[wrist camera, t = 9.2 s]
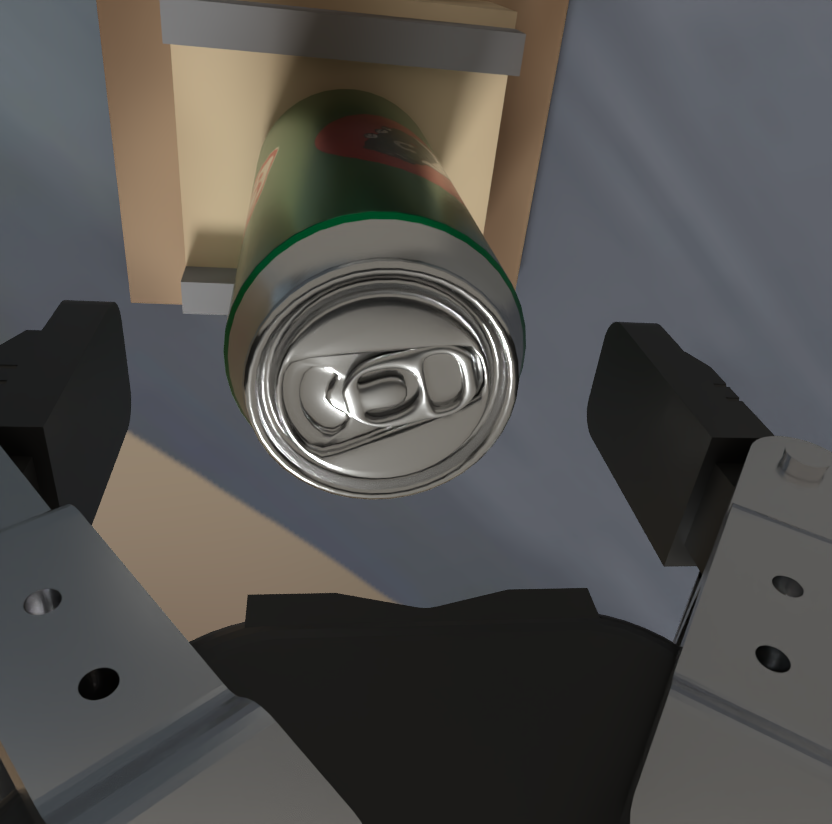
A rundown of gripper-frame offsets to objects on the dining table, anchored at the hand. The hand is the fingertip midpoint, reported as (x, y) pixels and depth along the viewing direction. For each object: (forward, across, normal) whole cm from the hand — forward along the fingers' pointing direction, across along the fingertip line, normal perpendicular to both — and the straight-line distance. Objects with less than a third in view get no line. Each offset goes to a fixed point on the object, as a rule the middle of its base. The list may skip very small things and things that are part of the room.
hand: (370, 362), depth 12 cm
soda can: (+11, 0, 0) cm, 11 cm away
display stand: (+16, 0, 0) cm, 16 cm away
